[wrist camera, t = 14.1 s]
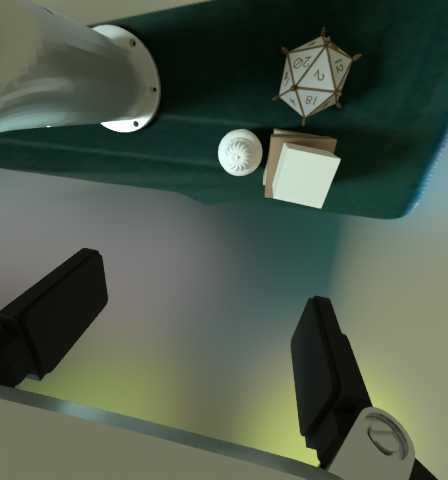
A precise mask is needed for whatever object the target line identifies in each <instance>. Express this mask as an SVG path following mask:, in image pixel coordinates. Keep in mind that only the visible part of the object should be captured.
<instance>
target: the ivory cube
mask: <svg viewBox="0 0 448 480" xmlns="http://www.w3.org/2000/svg"><path fill="white" fill-rule="evenodd" d="M340 160H341V159H340V158H338V157H337V156H335V155H334V154H332V153H331V152H329V151H325V150H320V149H316V148H311V147H306V146H301V145H296V144H291V143H286V142H284V145H283V148H282V152H281V155H280V159H279V162H278V166H277V170H276V173H275V177H274V180H273V184H272V188H273V198H275V199H279V200H284V201H289V202H293V203H298V204H303V205H307V206H312V207H316V208H321V207H322V205H323V202H324V200H325V197H326V195H327V192H328V190H329V187H330V185H331V182H332V180H333V177H334V175H335V173H336V170H337V168H338V165H339V163H340Z"/></svg>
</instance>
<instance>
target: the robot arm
mask: <svg viewBox="0 0 448 480" xmlns="http://www.w3.org/2000/svg"><path fill="white" fill-rule="evenodd" d="M135 42H136V46H134V43H135ZM155 88H156V92H155V91H154V89H155ZM160 99H161V81H160V76H159V72H158V68H157V66H156V63H155V61H154V58H153V57H152V55H151V53H150V52H149V50H148V49H147V47H146V46H145V45H144V44H143V43H142V42H141V40H140V39H138V38H137V37H136V36H135V35H133V34H132V33H130V32H129V31H127V30H125V29H123V28H120V27H118V26H114V25H100V26H97V27H94V28H92V29H90V28H88V27H86V26H84V25H82V24H80V23H77V22H75V21H73V20H71V19H69V18H67V17H65V16H63V15H60V14H58V13H56V12H54V11H52V10H50V9H48V8H46V7H44V6H41V5H39V4H37V3H35V2H33V1H31V0H0V132H4V131H11V130H18V129H27V128H39V127H55V126H68V125H81V124H94V123H101V124H102V125H104V126H105V127H107V128H109V129H111V130H114V131H118V132H134V131H137V130H140V129H142V128H144V127H145V126H147V125H148V124H149V123H150V122H151V121H152V119H153V118H154V116H155V115H156V113H157V110H158V108H159V104H160ZM137 122H138V123H139V125H138V124H137ZM107 302H108V294H107V287H106V281H105V273H104V266H103V259H102V255H100V254H99V252H98V251H97V250H93V249H88V248H83V249H81V250H80V251H78V252H77V253H76V254H74V255H73V256H72V257H70V258H69V259H68V260H66V261H65V262H64V263H62V264H61V265H60V266H59V267H57V268H56V269H55V270H53V271H52V272H51V273H49V274H48V275H47V276H45V277H44V278H43V279H41V280H40V281H39V282H37V283H36V284H35V285H33V286H32V287H31V288H29V289H28V290H27V291H25V292H24V293H23V294H22V295H20V296H19V297H17V298H16V299H15V300H14V301H12V302H11V303H10V304H8V305H7V306H6V307H4V308H3V309H2V310H0V480H438V479H437V478H436V477H435V476H434V475H433V474H431V473H430V472H429V471H428V470H427V469H426V468H425V467H424V466H423V465H422V464H421V463H420V462H419V461H418V460H417V459H416V458H415V450H414V446H413V443H412V441H411V439H410V437H409V435H408V433H407V432H406V430H405V429H404V428H403V426H402V425H401V424H400V423H399V422H398V421H397V420H396V419H395V418H394V417H393V416H391V415H390V414H388V413H387V412H386V411H383V410H381V409H379V408H375V407H373V406H372V403H371V400H370V398H369V395H368V392H367V389H366V387H365V384H364V381H363V378H362V376H361V373H360V370H359V367H358V365H357V362H356V359H355V357H354V354H353V351H352V349H351V345H350V343H349V340H348V338H347V336H346V335H345V334H342V333H341V330H340V327H339V324H338V321H337V318H336V315H335V313H334V310H333V307H332V304H331V301H330V299H329V298H325V297H320V296H314V297H313V298H309V299H308V301H307V304H306V306H305V309H304V311H303V313H302V316H301V318H300V320H299V323H298V325H297V327H296V330H295V332H294V335H293V337H292V340H291V354H292V363H293V372H294V381H295V391H296V400H297V409H298V418H299V427H300V433H301V435H302V436H305V441H306V447H307V448H311V449H315V450H317V457H318V460H319V461H320V464H319V465H318V467H315V466H312V465H309V464H306V463H303V462H300V461H297V460H294V459H290V458H287V457H283V456H280V455H276V454H272V453H269V452H265V451H262V450H258V449H254V448H251V447H247V446H243V445H239V444H235V443H232V442H228V441H223V440H220V439H216V438H212V437H208V436H204V435H201V434H197V433H193V432H189V431H185V430H181V429H177V428H173V427H169V426H165V425H161V424H157V423H153V422H149V421H145V420H141V419H138V418H134V417H129V416H125V415H122V414H118V413H114V412H109V411H105V410H102V409H98V408H94V407H90V406H85V405H81V404H77V403H73V402H69V401H65V400H61V399H57V398H53V397H49V396H45V395H41V394H37V393H33V392H28V391H24V390H20V385H21V382H22V381H23V380H24V379H25V377H27V378H29V379H33V380H37V381H41V380H42V378H43V377H44V376H45V375H46V374H47V373H50V372H51V371H53V370H54V368H55V367H56V366H57V365H58V364H59V362H60V361H61V360H62V359H63V357H64V356H65V355H66V354H67V352H68V351H69V350H70V349H71V348H72V346H73V345H74V344H75V343H76V341H77V340H78V339H79V338H80V337H81V335H82V334H83V333H84V332H85V330H86V329H87V328H88V327H89V326H90V324H91V323H92V322H93V321H94V319H95V318H96V317H97V316H98V314H99V313H100V312H101V311H102V310H103V308H104V307H105V306H106V304H107Z"/></svg>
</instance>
